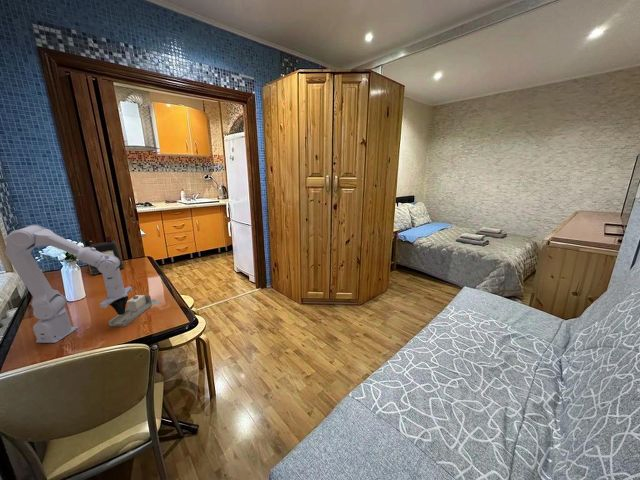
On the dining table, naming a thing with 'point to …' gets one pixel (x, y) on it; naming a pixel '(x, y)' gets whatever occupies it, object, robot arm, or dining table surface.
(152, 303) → the mounting bracket
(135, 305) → the module
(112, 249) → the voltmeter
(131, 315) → the rail
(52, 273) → the dining table surface
